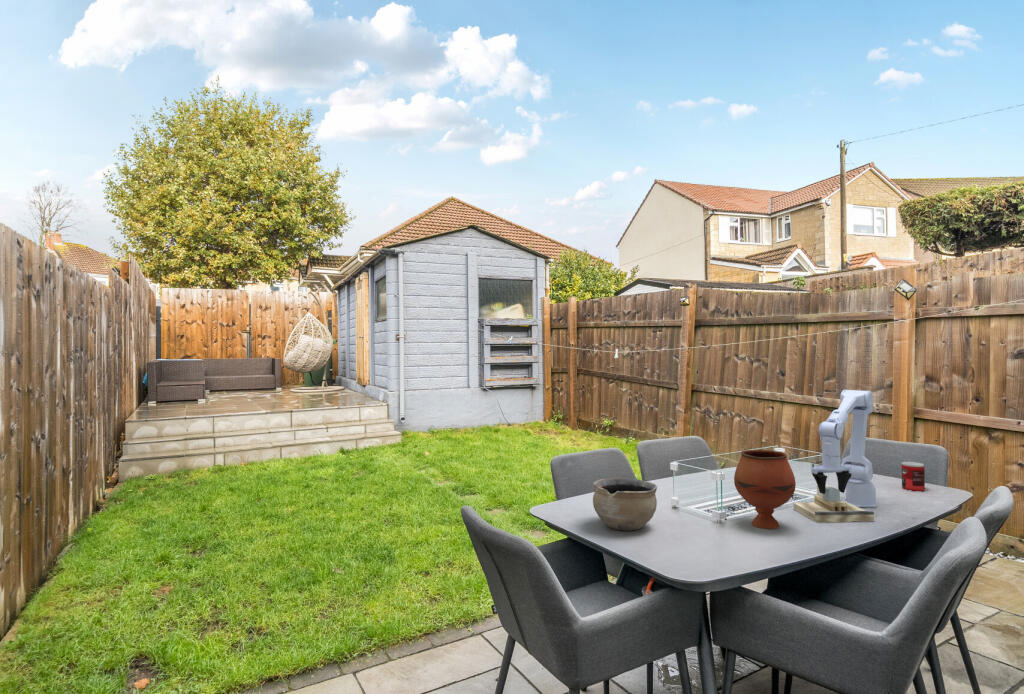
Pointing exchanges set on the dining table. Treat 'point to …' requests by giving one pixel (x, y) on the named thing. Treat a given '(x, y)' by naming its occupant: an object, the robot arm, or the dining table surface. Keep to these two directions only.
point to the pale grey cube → (832, 494)
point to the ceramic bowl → (624, 502)
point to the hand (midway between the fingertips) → (831, 492)
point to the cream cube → (821, 493)
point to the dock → (833, 513)
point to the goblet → (764, 483)
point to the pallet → (830, 504)
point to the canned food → (913, 476)
